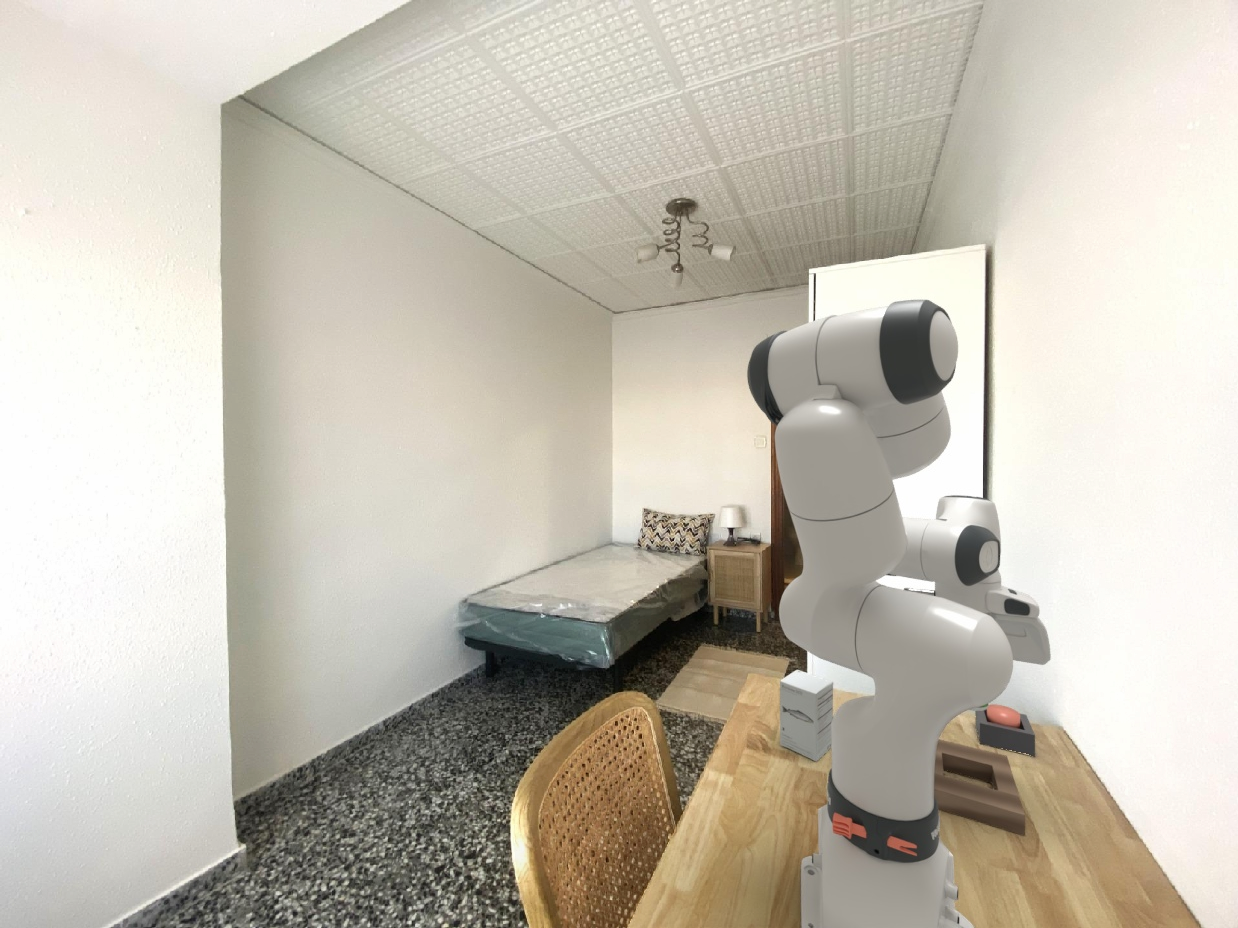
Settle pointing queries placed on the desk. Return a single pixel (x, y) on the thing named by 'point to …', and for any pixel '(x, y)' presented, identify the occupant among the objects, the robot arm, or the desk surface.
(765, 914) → the desk surface
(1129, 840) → the desk surface
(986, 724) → the button box
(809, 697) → the supplement box
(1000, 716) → the button
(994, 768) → the brown bottle holder
